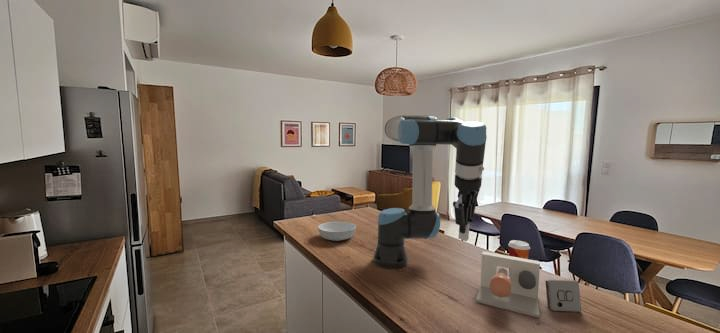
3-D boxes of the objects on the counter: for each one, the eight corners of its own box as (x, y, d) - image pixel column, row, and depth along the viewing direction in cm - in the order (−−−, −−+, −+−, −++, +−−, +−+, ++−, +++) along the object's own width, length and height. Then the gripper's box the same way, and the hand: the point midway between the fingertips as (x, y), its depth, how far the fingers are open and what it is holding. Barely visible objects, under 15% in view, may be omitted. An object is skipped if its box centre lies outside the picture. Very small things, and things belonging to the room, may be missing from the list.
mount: (476, 301, 100) (478, 264, 99) (481, 284, 112) (483, 250, 111) (538, 317, 91) (541, 276, 90) (537, 297, 103) (539, 260, 102)
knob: (489, 294, 96) (490, 276, 95) (493, 278, 107) (493, 262, 106) (510, 299, 93) (511, 281, 92) (511, 282, 104) (512, 266, 104)
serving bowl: (363, 236, 167) (363, 224, 166) (341, 247, 149) (341, 234, 149) (333, 230, 178) (333, 219, 177) (309, 240, 160) (309, 227, 160)
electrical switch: (551, 311, 95) (551, 282, 95) (542, 304, 100) (542, 276, 100) (582, 312, 94) (582, 283, 94) (571, 305, 99) (571, 277, 99)
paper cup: (520, 283, 113) (522, 247, 112) (502, 275, 120) (504, 241, 119) (532, 279, 117) (534, 244, 116) (514, 271, 124) (516, 238, 122)
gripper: (470, 186, 81) (464, 254, 91) (490, 169, 89) (483, 233, 99) (445, 179, 86) (442, 244, 96) (466, 163, 94) (462, 225, 104)
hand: (463, 238), depth 97 cm, fingers closed
